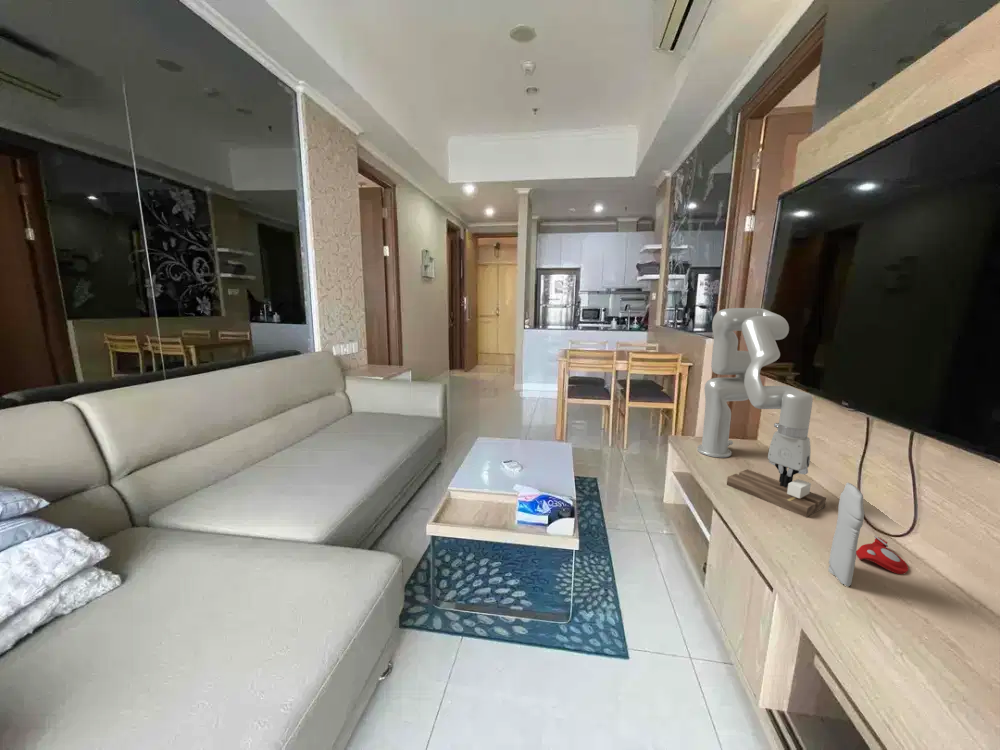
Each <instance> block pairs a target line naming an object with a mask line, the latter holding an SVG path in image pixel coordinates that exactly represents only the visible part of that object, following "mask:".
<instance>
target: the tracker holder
mask: <svg viewBox="0 0 1000 750" xmlns="http://www.w3.org/2000/svg"><path fill="white" fill-rule="evenodd" d="M874 538H875V539H874V541H873V542H872V543H866V544H865V543H864V544H862V545H861V546H860V547H858V549H856V557H857V558H858V559H859V561H862V560H864V559H865V560H867V561H869V562H872V563H875V564H877V565H878V566H880V567H882V568H884V569H885V570H888V571H890V572H892V573H894V574H897V575H905V574H907V573H908V571H909V566H908V565H907V563H906V562H905V560H904V559H903V558H902V557H901V556H899V555H898V554H897V553H895V552H894V551H892V550H891V549H889V548H888V547H889V545H888V542H887V541H886V540H884V539H883V538H881V537H879V536H877V535H874ZM904 573H905V574H904Z"/></svg>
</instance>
